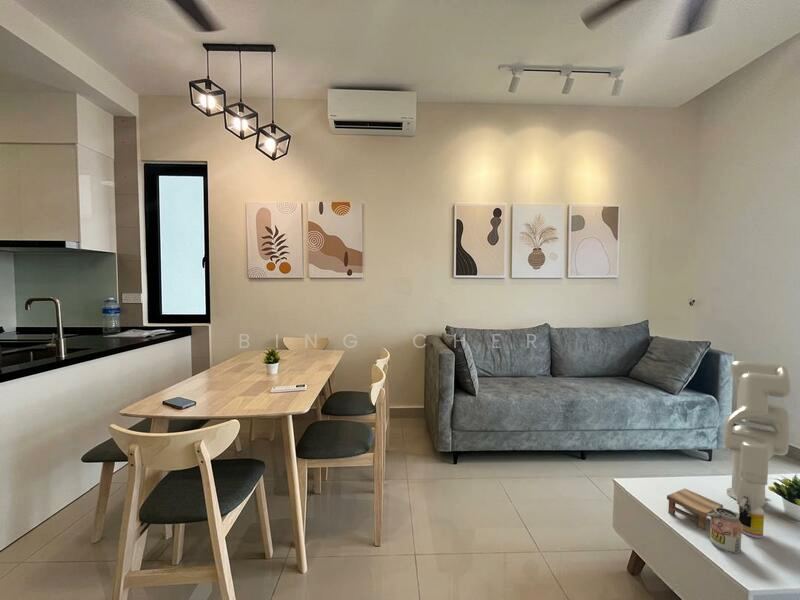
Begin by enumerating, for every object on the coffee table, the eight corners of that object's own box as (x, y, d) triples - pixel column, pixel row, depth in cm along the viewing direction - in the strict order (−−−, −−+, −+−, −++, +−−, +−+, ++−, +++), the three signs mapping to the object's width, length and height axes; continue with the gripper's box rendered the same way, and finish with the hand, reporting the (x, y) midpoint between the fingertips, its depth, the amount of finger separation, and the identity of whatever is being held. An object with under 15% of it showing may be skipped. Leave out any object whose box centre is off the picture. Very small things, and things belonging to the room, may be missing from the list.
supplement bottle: (768, 540, 132) (769, 505, 131) (746, 537, 133) (748, 502, 133) (754, 528, 138) (755, 495, 138) (733, 525, 140) (735, 492, 139)
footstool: (684, 504, 153) (684, 488, 153) (722, 522, 141) (723, 505, 141) (666, 512, 147) (666, 495, 147) (704, 531, 135) (705, 513, 135)
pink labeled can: (700, 536, 133) (701, 504, 132) (721, 535, 134) (722, 503, 133) (725, 555, 124) (727, 520, 123) (747, 553, 124) (749, 519, 124)
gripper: (750, 467, 142) (748, 510, 143) (728, 476, 135) (726, 521, 135) (777, 476, 135) (775, 521, 136) (755, 486, 128) (753, 534, 128)
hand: (750, 521), depth 135 cm, fingers open, 9 cm apart
